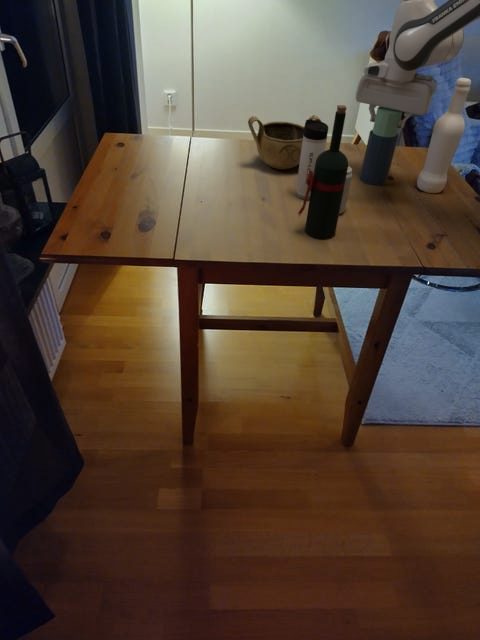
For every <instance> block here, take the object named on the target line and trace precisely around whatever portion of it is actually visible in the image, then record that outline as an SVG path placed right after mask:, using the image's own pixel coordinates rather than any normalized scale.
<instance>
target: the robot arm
mask: <svg viewBox="0 0 480 640" xmlns="http://www.w3.org/2000/svg"><path fill="white" fill-rule="evenodd" d="M479 19H480V0H447V1H446V2H444V3H442V4H441V5H440V6H439V7H438V6H437V5H436V2H435V0H401V2H400V3H399V5H398V7H397V9H396V11H395V14H394V18H393V22H392V25H391V28H390V34H389V45H388V49H387V51H386V53H385V56H384V59H383V60H379V61H378V60H377V61H374V62H371V63H369V64H367V65H366V66H365V67H364V70H363V73H364V75H363V76H362V77H361V78H360V79H359V82H358V85H357V89H356V92H355V100H356V102H357V103H361V104H366V105H369V106H368V111H369V115H370V118H369V122H370V123H374V122H375V118H376V110H375V109H376V108H377V107H384V108H389V109H393V110H398V111H403V112H404V115H403V116H404V118H403V119H400V121H399V122H398V125H397V128H398V129H402V130H403V129H404V127H405V124H406V122H407V120H408V119H409V118H410V117H411V116H412V115H418V116H424V115H426V114H427V113H428V112H429V111H430V109H431V106H432V105H431V104H432V99H433V96H434V94H435V93H436V90H437V88H438V82H437V80H436V79H435V78H434V76H431V75H424V74H422V73H421V74H420V73H418V69H421V68H425V67H430V66H435V65H440V64H444V63H446V62H449V61H451V60H453V59H454V58H455V57H457V55H458V54H459V53H460V51H461V49H462V47H463V44H464V40H465V39H464V38H465V34H464V33H465V32H464V28H465V27H468V26H469V25H470V24H472V23H473V22H475V21H477V20H479ZM403 112H402V113H403Z"/></svg>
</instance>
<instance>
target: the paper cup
mask: <svg viewBox="0 0 480 640" xmlns="http://www.w3.org/2000/svg"><path fill="white" fill-rule="evenodd" d="M375 114H376V118H375V122H373V127H372V130H373V131H372V132H373V134H375V135H377V136H381V137H395V136H396V135H397V134H398V130H399V128H397V125H398V122H399V121H400V120H402V115H403V111H398V110H393V109H389V108H384V107H379V106H377V109H376V112H375Z"/></svg>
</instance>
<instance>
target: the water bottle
mask: <svg viewBox="0 0 480 640" xmlns="http://www.w3.org/2000/svg"><path fill="white" fill-rule="evenodd" d="M372 131H373V129H371V130H370V131H369V134H368V137H367V138H368V139H367V142H366V146H365V152H364V156H363V161H362V165H361V169H360V174H359V180H360V181H361V182H362V183H364V184H367V185H370V186H384V185H385V184H386V183H387V180H388V177H389V174H390V170H391V166H392V163H393V158H394V155H395V151H396V147H397V145H398V144H397V143H398V141H399V140H398V139H399V133H397V135H396V136H395V137H381V136H377V135H375V134H373V132H372Z"/></svg>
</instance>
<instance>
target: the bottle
mask: <svg viewBox="0 0 480 640" xmlns="http://www.w3.org/2000/svg"><path fill="white" fill-rule="evenodd" d="M471 85H472V80H471V79H470V78H466V77H459V78H458V79H457V80H456V85H455V86H454V91H453V93H452V96H451V99H450V102H449V105H448V108H447V111H445V113H443V114H442V115H440V117H439V118H438V119H437V120H436V122H435V124H434V126H433V129H432V132H431V137H430V140H429V145H428V149H427V153H426V158H425V162H424V165H423V167H422V169H421V170H420V172H419V173H418V175H417V178H416V179H417V180H416V187H417V188H418V189H419V190H420V191H422V192H424V193H428V194H439V193H441V192H442V191H443V190H444V189H445V187H446V184H447V181H448V172H449V170H450V167H451V164H452V161H453V159H454V157H455V155H456V152H457V149H458V147H459V145H460V143H461V140H462V138H463V135H464V133H465V129H466V126H465V125H466V123H465V119H464V117H463V111H464V109H465V108H464V107H465V105H466V101H467V98H468V95H469V92H471Z"/></svg>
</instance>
